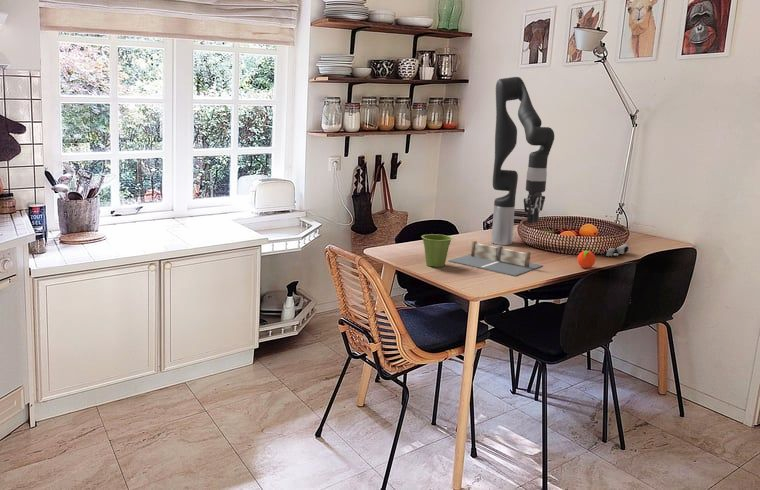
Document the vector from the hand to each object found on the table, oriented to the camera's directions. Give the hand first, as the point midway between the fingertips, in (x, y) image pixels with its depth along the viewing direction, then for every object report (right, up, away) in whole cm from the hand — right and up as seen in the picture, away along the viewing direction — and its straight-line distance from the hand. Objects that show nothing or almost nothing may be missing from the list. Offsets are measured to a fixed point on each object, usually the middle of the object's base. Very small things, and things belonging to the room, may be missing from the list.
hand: (532, 222), depth 263 cm
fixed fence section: (-17, -15, +10) cm, 25 cm away
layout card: (-14, -16, +3) cm, 22 cm away
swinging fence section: (-7, -16, +1) cm, 18 cm away
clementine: (+22, -18, +2) cm, 28 cm away
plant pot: (-38, -17, -2) cm, 42 cm away
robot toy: (+41, -13, +28) cm, 51 cm away
